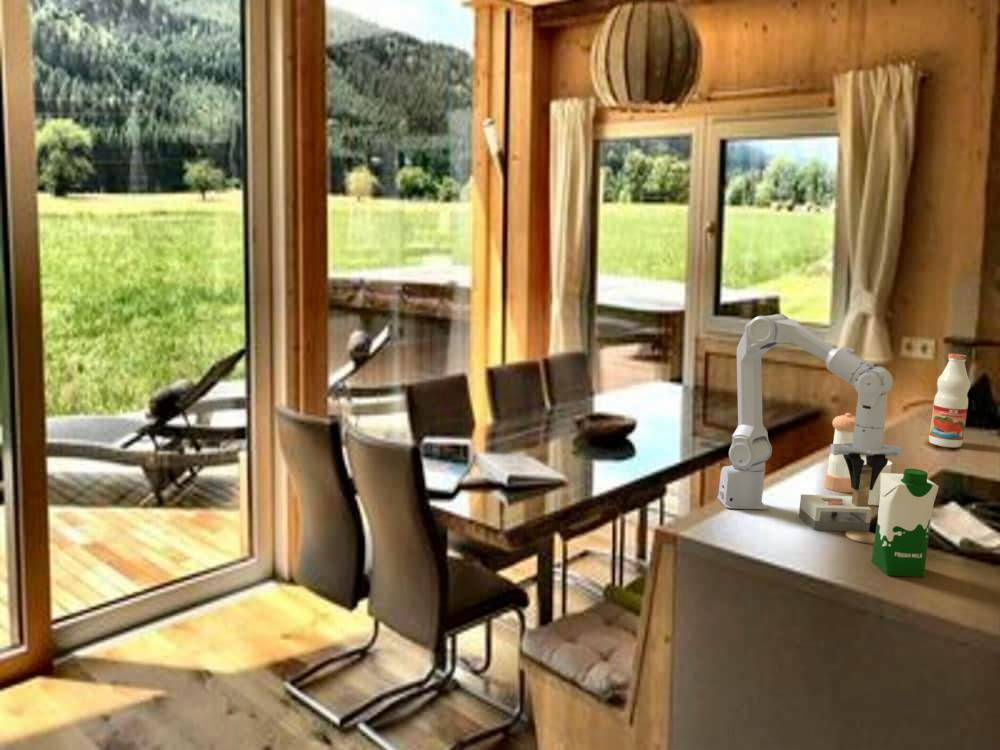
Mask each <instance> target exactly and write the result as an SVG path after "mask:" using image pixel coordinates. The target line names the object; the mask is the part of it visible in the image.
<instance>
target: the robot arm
mask: <svg viewBox="0 0 1000 750" xmlns="http://www.w3.org/2000/svg"><path fill="white" fill-rule="evenodd" d="M778 344H793V345H796V346H797V347H800V348H801V349H803V350H805V351H807V352H808V353H810V354H812V355H813V356H815V357H817V358H819V359H821V360H822V361H824V362H825V365H826V368H827V370H828V371H829V372H831V373H832V374H833V375H835V376H837V377H838V378H840V379H841V380H844V382H846V383H848V384H850V385H851V386H854V389H855V391H856V392H857V403H856V409H855V415H854V417H855V424H854V433H853V442H852V443H845V444H833V443H830V448H829V449H830V450H829V454H833V455H838V454H841V455H844V459H845V461H846V463H847V466H848V470H849V474H850V479H851V487H852V488H853V489H855V490H858V489H859V485H860V476H861V471H862V468H863V465H864V462H865V461H864V460H862V459H861V457H862V456H866V462H867V465H868V466H870V467H872V474H871V483H870V490H873V487H874V484H875V482H876V480H877V478H878V476H879V474H880V472H881V471H882V469H883V468H884V467H885V466H886V465H887V463H888V461H889V459H888V458H887V457H895V458H902V457H903V452H904V451H903V448H902V447H901V446H898V445H888V444H887V445H885V444H883V439H884V430H885V424H886V423H885V422H886V414H887V408H888V407H887V406H888V405H887V404H888V392H890V391H891V390H892V388H893V385H894V378H893V375H892V374H891V372H890V371H889V370H887V368H885V367H883V366H875V363H874V362H873V361H870V360H869V361H867V360H866V359H864V358H863V357H861V356H860V355H857V354H856V353H855V352H856V351H855V349H853V348H851V347H848V348H846V347H844V346H843V347H838V348H835V347H833V346H832V345H830V344H829V343H827V342H826V341H824V340H823V339H822V338H820V337H819V336H817V334H814V333H812V332H811V331H810V330H809V329H807V328H806V327H804V326H803V325H801V324H800V323H799V322H797V321H796V320H794V319H791V318H789V317H787V315H785V314H781V313H775V314H772V315H771V314H770V315H758V316H756V317H754V318H752V320H749V322H747V323H746V324H745V325H744V333H743V335H742V336H741V339H740V341H739V342H738V344H737V347H736V379H737V380H736V381H737V382H736V383H737V385H736V386H737V427H736V429H735V431H734V432H733V433H732V436H731V437H732V440H731V441H732V442H731V445H730V446H729V447H730V448H729V450H728V457H729V458H728V459H729V460H730V462H731V465H728V466H726V465H725V466H722V468H721V471H720V475H719V486H718V487H719V488H718V495H717V499H718V500H719V501H720V502H721V504H722V505H723V506H724V507H725V508H726V509H738V510H739V509H740V510H742V509H743V510H768V507H767V506H766V505H765V503H764V502H763V501H762V500H763V492H764V485H765V484H764V483H765V474H766V461H768V460H769V459H770V457H771V456H772V451H773V447H772V445H771V442H770V441H769V436H768V433H769V432H768V431H767V429H766V427H765V426H764V423H763V422H764V421H763V378H762V377H763V376H762V375H763V374H762V373H763V372H762V371H763V370H762V356H763V355H765V354H766V353H767V352H768V351H769V350H770V349H771V348H772V347H774V346H777V345H778Z"/></svg>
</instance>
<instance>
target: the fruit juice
mask: <svg viewBox="0 0 1000 750" xmlns="http://www.w3.org/2000/svg"><path fill="white" fill-rule="evenodd" d="M947 359H948V363H947V364H946V366H945V368H944V370H943V372H942V373H941V374H940V375H939V377H938V378H937V382H936V386H937V392H936V394H935V396H934V399H933V405H932V406H933V407H932V412H931V414H932V415H931V419H930V420H931V421H930V427H929V434H928V442H929V443H930V444H932V445H935V446H939V447H943V448H961V447H962V446H963V442H964V435H965V428H966V422H967V414H968V408H969V407H968V406H969V397H968V393H969V390H970V389H971V380H970V379H969V376H968V372H967V369H966V364H965V363H966V361H967V355H965V354H960V353H948V357H947Z"/></svg>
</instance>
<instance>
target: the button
mask: <svg viewBox="0 0 1000 750" xmlns="http://www.w3.org/2000/svg"><path fill="white" fill-rule="evenodd" d="M827 504H828V505H843V506H844V503H842V502H838V501H829V502H827ZM831 514H832V515H837V512H831Z"/></svg>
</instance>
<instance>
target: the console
mask: <svg viewBox="0 0 1000 750" xmlns="http://www.w3.org/2000/svg"><path fill="white" fill-rule="evenodd" d="M829 501H838V502H841V503H842V504H843V505H828V502H829ZM831 512H837V515H832V514H831ZM872 512H873V511H872V508H871V507H869V506H868V507H856V506H855V505H853V504H852V495H831V494H830V495H828V494H827V495H826V494H825V495H824V494H800V501H799V509H798V517H799V518H800V519H802V521H804V522H805V523H806V524H807V525H808V526H809V527H810V528H812V530H815V531H836V532H837V531H838V532H839V531H840V532H841V531H842V532H847V531H851V530H860V531H866V532H870V527H871V518H872Z"/></svg>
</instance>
